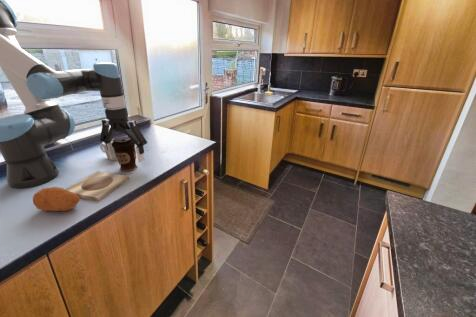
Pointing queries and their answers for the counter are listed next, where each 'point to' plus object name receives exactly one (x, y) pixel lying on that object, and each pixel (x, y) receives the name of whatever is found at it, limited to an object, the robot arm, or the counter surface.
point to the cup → (106, 150)
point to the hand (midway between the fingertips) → (127, 159)
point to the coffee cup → (125, 153)
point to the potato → (55, 199)
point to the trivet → (98, 185)
